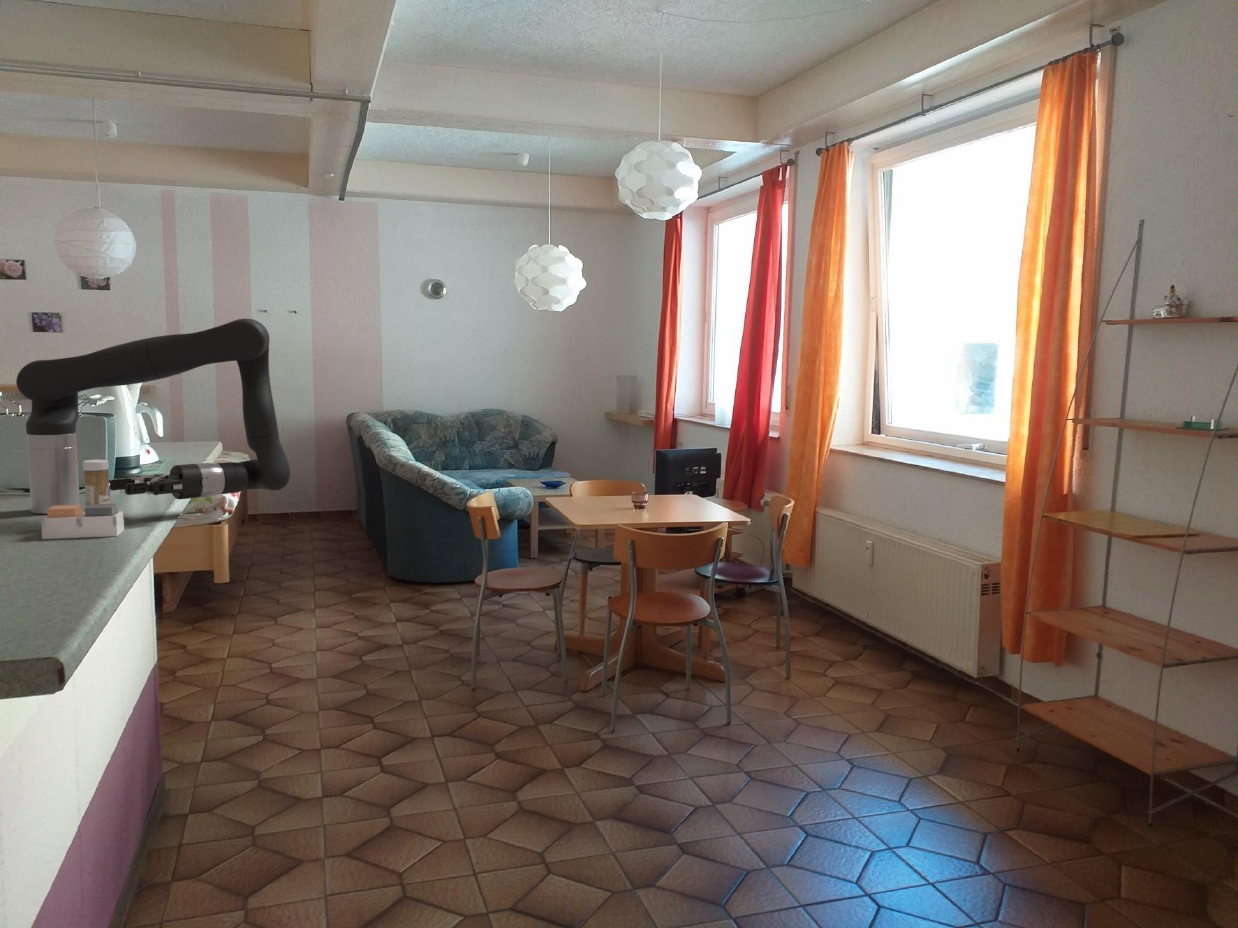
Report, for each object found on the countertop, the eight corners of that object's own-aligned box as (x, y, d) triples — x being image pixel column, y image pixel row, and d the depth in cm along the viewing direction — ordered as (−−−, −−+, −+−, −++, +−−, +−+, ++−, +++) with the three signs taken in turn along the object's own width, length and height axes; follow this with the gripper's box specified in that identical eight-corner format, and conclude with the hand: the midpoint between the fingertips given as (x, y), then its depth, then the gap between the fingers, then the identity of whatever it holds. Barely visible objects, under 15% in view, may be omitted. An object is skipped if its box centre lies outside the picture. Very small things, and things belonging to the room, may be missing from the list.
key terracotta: (55, 515, 176) (54, 505, 175) (81, 514, 177) (81, 504, 177) (48, 519, 171) (47, 509, 171) (75, 518, 173) (75, 508, 172)
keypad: (52, 532, 176) (50, 513, 176) (124, 530, 180) (123, 510, 180) (42, 539, 170) (41, 518, 170) (117, 536, 174) (116, 516, 174)
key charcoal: (91, 514, 177) (90, 504, 177) (117, 513, 179) (116, 503, 179) (85, 518, 173) (84, 508, 173) (112, 517, 174) (111, 507, 174)
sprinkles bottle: (112, 526, 184) (109, 460, 182) (86, 528, 181) (83, 461, 180) (110, 522, 188) (107, 458, 186) (85, 524, 185) (82, 459, 184)
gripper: (183, 460, 203) (104, 466, 191) (211, 466, 193) (130, 472, 181) (184, 493, 204) (105, 501, 192) (212, 501, 194) (131, 509, 182)
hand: (117, 487), depth 187 cm, fingers open, 8 cm apart
